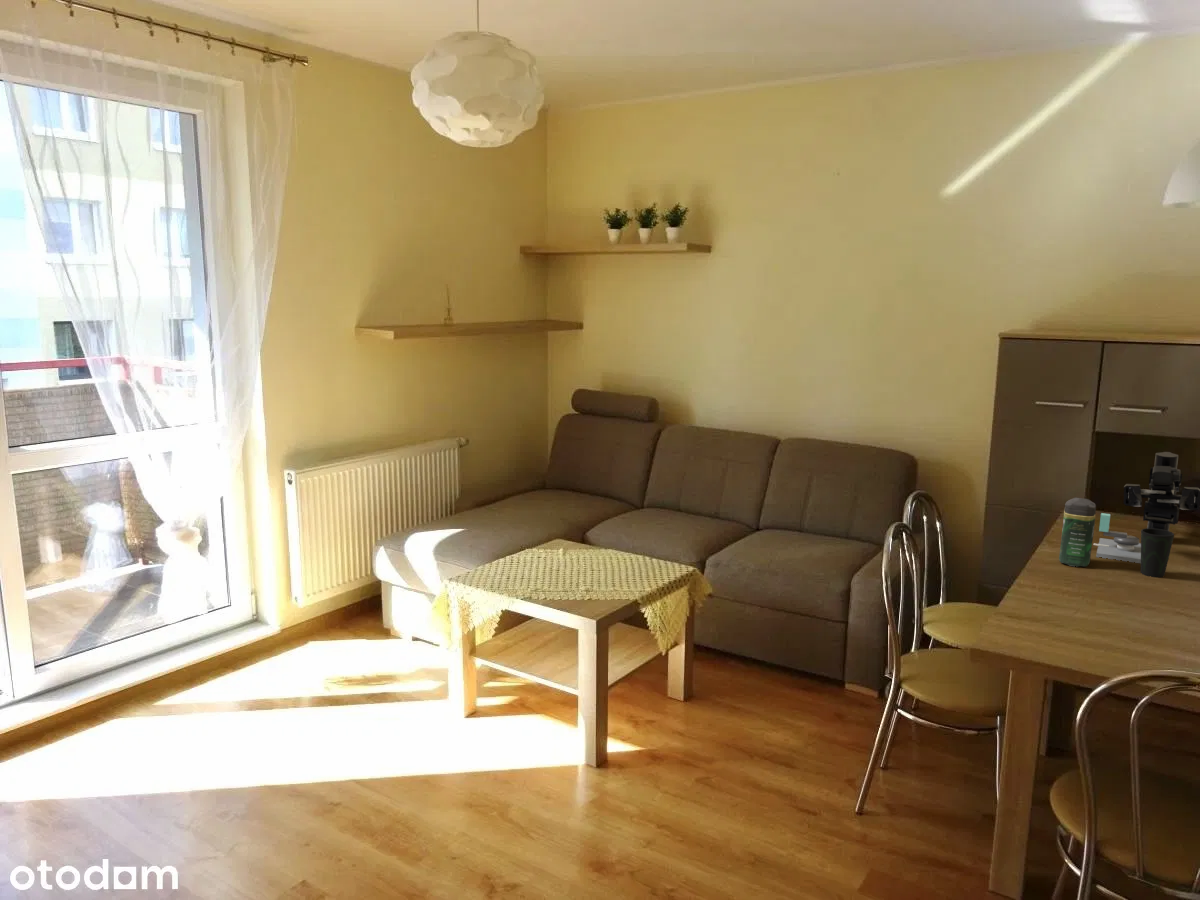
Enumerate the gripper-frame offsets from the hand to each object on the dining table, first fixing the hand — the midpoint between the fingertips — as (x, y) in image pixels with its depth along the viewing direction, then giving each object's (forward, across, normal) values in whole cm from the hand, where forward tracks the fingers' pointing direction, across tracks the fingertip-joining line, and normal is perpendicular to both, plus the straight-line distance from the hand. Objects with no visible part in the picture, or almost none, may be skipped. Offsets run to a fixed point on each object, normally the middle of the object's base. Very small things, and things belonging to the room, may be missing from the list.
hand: (1159, 505), depth 249 cm
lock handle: (-4, -10, +13) cm, 17 cm away
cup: (+14, -1, +16) cm, 21 cm away
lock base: (-4, -8, +17) cm, 19 cm away
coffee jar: (+15, -20, +14) cm, 28 cm away
